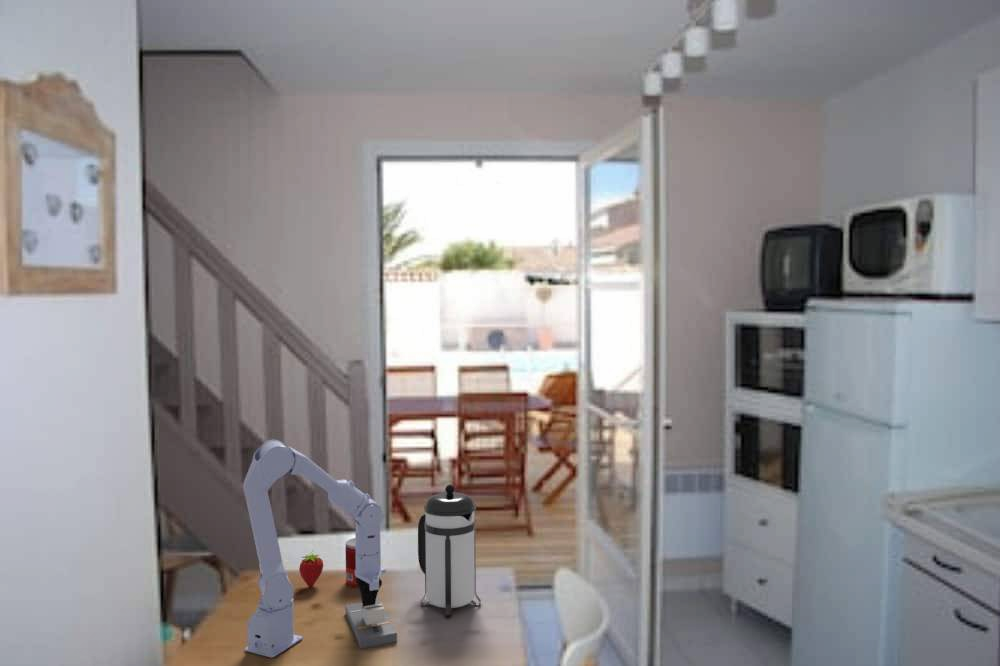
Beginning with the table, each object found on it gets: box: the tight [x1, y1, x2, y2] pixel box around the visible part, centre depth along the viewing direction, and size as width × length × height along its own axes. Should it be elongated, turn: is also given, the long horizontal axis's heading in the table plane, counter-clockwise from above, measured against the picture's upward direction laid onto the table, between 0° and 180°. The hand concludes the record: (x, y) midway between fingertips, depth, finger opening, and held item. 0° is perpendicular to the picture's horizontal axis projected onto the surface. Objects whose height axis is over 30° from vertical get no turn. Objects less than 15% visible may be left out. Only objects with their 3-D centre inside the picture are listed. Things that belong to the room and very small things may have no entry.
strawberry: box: [299, 550, 324, 588], centre depth 179 cm, size 6×8×10 cm
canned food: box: [345, 538, 359, 588], centre depth 182 cm, size 8×8×11 cm
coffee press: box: [417, 484, 482, 618], centre depth 168 cm, size 17×16×30 cm
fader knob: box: [364, 603, 385, 627], centre depth 152 cm, size 3×4×4 cm
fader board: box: [345, 599, 398, 650], centre depth 156 cm, size 19×8×2 cm, turn 22°
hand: (368, 609), depth 157 cm, fingers closed
